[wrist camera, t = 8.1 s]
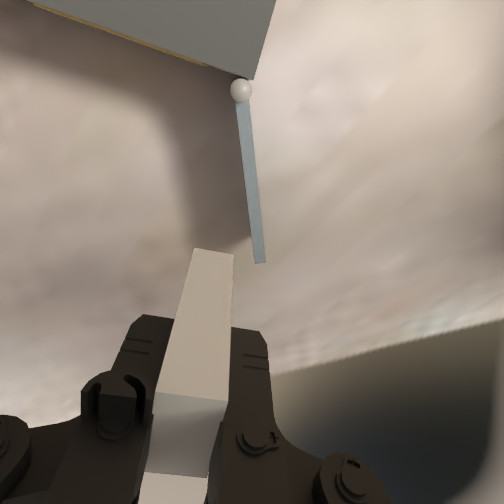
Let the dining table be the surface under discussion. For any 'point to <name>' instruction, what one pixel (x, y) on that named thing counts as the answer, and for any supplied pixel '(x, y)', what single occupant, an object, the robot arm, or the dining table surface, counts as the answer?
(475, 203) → the dining table surface
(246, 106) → the side door
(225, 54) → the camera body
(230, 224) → the dining table surface
